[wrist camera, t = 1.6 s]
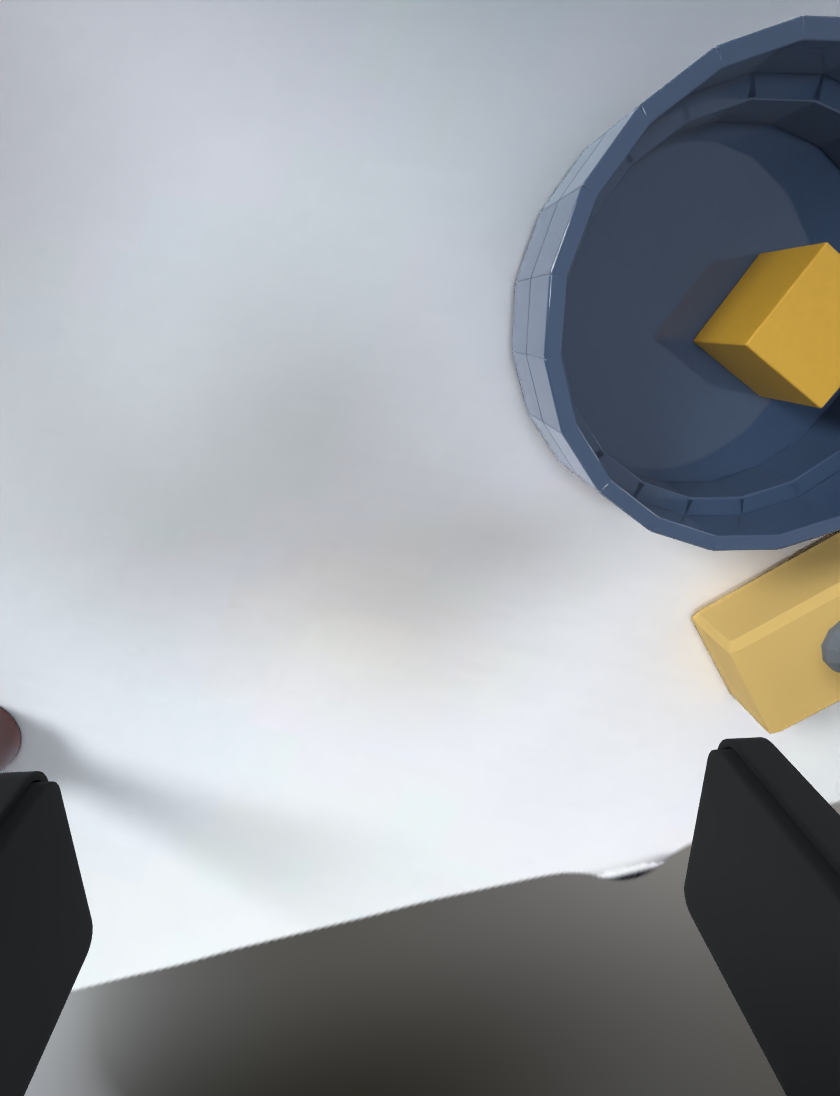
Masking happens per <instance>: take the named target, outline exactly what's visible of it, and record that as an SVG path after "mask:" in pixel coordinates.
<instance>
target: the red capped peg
mask: <svg viewBox="0 0 840 1096" xmlns="http://www.w3.org/2000/svg"><path fill="white" fill-rule="evenodd" d="M20 743H21V735H20V731H19V728H18V726H17V724H16V722H15V720H14V719H13V718H12V717H11V716H10V715H9V714H8V713H7V712H6V711H5V710H3V709H2V708H0V773H1V772H2V771H3V770H4V769H5V767H6V766H7V765H8V764H9V762H10V761H11V760H12V759H13V758H14V756H15V755H16V754H17V752H18V750H19V748H20Z"/></svg>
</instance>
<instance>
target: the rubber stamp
mask: <svg viewBox="0 0 840 1096" xmlns="http://www.w3.org/2000/svg"><path fill="white" fill-rule="evenodd" d="M691 619H692V621H693V623H694V625H695V627H696V629H697V630H698V632H699V634H700V636H701V638H702V640H703V642H704V644H705V646H706V648H707V650H708V652H709V653H710V655H711V657H712V659H713V661H714V663H715V665H716V667H717V669H718V671H719V673H720V675H721V676H722V678H723V680H724V682H725V684H726V686H727V688H728V690H729V692H730V693H731V694H732V695H733V696H734V698H735V699H736V700H737V701H738V702H739V703H740V704H741V705H742V706H743V707H744V708H745V709H746V710H747V711H748V712H749V713H750V714H751V715H752V716H753V718H754V719H755V720H756V721H757V722H758V723H759V724H760V725H761V726H762V727H763V728H764V729H765V730H766V731H768V732H769V733H770V734H772V733H776V732H780V731H782V730H784V729H786V728H788V727H790V726H792V725H794V724H796V723H798V722H800V721H802V720H803V719H805V718H807V717H809V716H811V715H813V714H815V713H817V712H819V711H821V710H823V709H824V708H826V707H828V706H830V705H832V704H834V703H836V702H838V701H840V532H839V533H837V534H835V535H833V536H832V537H830V538H828V539H826V540H824V541H823V542H821V543H819V544H817V545H815V546H814V547H812V548H810V549H808V550H807V551H805V552H803V553H801V554H799V555H798V556H796V557H794V558H792V559H790V560H789V561H787V562H785V563H783V564H782V565H780V566H778V567H776V568H774V569H773V570H771V571H769V572H767V573H765V574H764V575H762V576H760V577H758V578H757V579H755V580H753V581H751V582H749V583H748V584H746V585H744V586H742V587H740V588H739V589H737V590H735V591H733V592H731V593H730V594H728V595H726V596H724V597H723V598H721V599H719V600H717V601H715V602H714V603H712V604H710V605H708V606H706V607H705V608H703V609H701V610H699V611H698V612H697V613H696V614H695V615H694V616H693V617H692V618H691Z"/></svg>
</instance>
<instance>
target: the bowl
mask: <svg viewBox="0 0 840 1096" xmlns="http://www.w3.org/2000/svg"><path fill="white" fill-rule="evenodd" d="M825 242H826V243H829V244H830V245H831V246H832V247H833V248H834V249H835V250H836V251H837V252H838V253H839V254H840V17H829V16H804V17H803V16H800V17H797V18H794V19H792V20H789V21H786V22H783V23H780V24H777V25H774V26H772V27H769V28H766V29H763V30H760V31H757V32H754V33H752V34H749V35H746V36H743V37H740V38H737V39H735V40H732V41H729V42H726V43H723V44H720V45H718V46H716V47H715V48H713V49H711V50H710V51H709V52H707V53H706V54H705V55H703V56H702V57H701V58H700V59H698V60H697V61H696V62H694V63H693V64H692V65H691V66H689V67H688V68H687V69H685V70H684V71H683V72H682V73H680V74H679V75H678V76H676V77H675V78H674V79H673V80H671V81H670V82H669V83H667V84H666V85H665V86H664V87H662V88H661V89H660V90H658V91H657V92H656V93H655V94H653V95H652V96H651V97H649V98H648V99H647V100H646V101H644V102H643V103H642V104H640V105H639V106H638V107H637V108H635V109H634V110H633V111H632V112H630V113H629V114H628V115H627V116H625V117H624V118H623V119H622V120H621V121H619V122H618V123H617V124H616V125H614V126H613V127H612V128H611V129H609V130H608V131H607V132H606V133H604V134H603V135H602V136H601V137H599V138H598V139H597V140H596V141H594V142H593V143H592V144H591V145H589V146H588V147H587V148H586V150H584V151H583V152H582V154H581V155H580V157H579V158H578V159H577V161H576V162H575V164H574V165H573V167H572V168H571V169H570V171H569V172H568V174H567V175H566V176H565V178H564V179H563V181H562V182H561V183H560V185H559V186H558V188H557V189H556V190H555V192H554V193H553V195H552V196H551V198H550V199H549V200H548V202H547V203H546V205H545V206H544V207H543V209H542V211H541V213H540V214H539V217H538V220H537V223H536V226H535V228H534V231H533V234H532V237H531V240H530V243H529V246H528V248H527V251H526V254H525V257H524V260H523V263H522V266H521V268H520V271H519V274H518V277H517V282H516V284H515V302H514V321H513V340H512V351H513V352H512V353H513V357H514V361H515V365H516V369H517V373H518V377H519V381H520V385H521V389H522V392H523V396H524V400H525V404H526V408H527V411H528V414H529V416H530V417H531V419H532V420H533V422H534V423H535V425H536V426H537V428H538V429H539V431H540V433H541V434H542V436H543V437H544V439H545V440H546V442H547V443H548V445H549V446H550V448H551V450H552V451H553V453H554V454H555V456H556V457H557V459H558V460H559V461H560V462H561V463H562V464H563V465H564V466H566V467H567V468H568V469H570V470H571V471H572V472H573V473H575V474H576V475H577V476H579V477H580V478H581V479H582V480H584V481H585V482H586V483H588V484H589V485H590V486H592V487H593V488H594V489H595V490H597V491H598V492H599V493H601V494H602V495H603V496H604V497H606V498H607V499H608V500H610V501H611V502H612V503H614V504H615V505H616V506H618V507H619V508H620V509H621V510H623V511H624V512H625V513H627V514H628V515H629V516H631V517H632V518H633V519H634V520H636V521H637V522H638V523H640V524H641V525H642V526H644V527H645V528H646V529H648V530H650V531H651V532H654V533H657V534H660V535H663V536H666V537H670V538H673V539H676V540H679V541H682V542H686V543H689V544H692V545H695V546H698V547H701V548H705V549H708V550H713V551H722V550H777V549H781V548H785V547H788V546H791V545H794V544H797V543H800V542H804V541H807V540H810V539H813V538H816V537H820V536H823V535H826V534H829V533H832V532H835V531H839V530H840V388H839V389H838V390H837V391H836V392H835V393H834V395H833V396H832V397H831V398H830V399H829V400H828V402H827V403H826V404H825V405H824V406H823V407H822V408H816V407H811V406H806V405H802V404H797V403H792V402H787V401H782V400H777V399H772V398H767V397H762V396H759V395H758V394H756V393H755V392H754V391H753V390H752V389H750V388H749V387H748V386H747V385H746V384H744V383H743V382H742V381H741V380H739V379H738V378H737V377H736V376H735V375H733V374H732V373H731V372H730V371H728V370H727V369H726V368H725V367H724V366H722V365H721V364H720V363H719V362H718V361H716V360H715V359H714V358H713V357H711V356H710V355H709V354H708V353H707V352H705V351H704V350H703V349H702V348H700V347H699V346H698V345H697V344H696V343H694V339H695V338H696V336H697V335H698V334H699V332H700V331H701V330H702V328H703V327H704V326H705V324H706V323H707V322H708V321H709V319H710V318H711V317H712V315H713V314H714V313H715V311H716V310H717V309H718V308H719V306H720V305H721V304H722V302H723V301H724V300H725V298H726V297H727V296H728V295H729V293H730V292H731V291H732V289H733V288H734V287H735V285H736V284H737V283H738V282H739V280H740V279H741V278H742V276H743V275H744V274H745V272H746V271H747V270H748V269H749V267H750V266H751V265H752V263H753V262H754V261H755V259H756V258H757V257H758V256H759V254H761V253H766V252H772V251H778V250H784V249H790V248H796V247H802V246H808V245H813V244H819V243H825Z"/></svg>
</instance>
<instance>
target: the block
mask: <svg viewBox="0 0 840 1096" xmlns="http://www.w3.org/2000/svg"><path fill="white" fill-rule="evenodd" d="M694 343H696V344H697V345H698V346H699V347H700V348H702V349H703V350H704V351H705V352H707V353H708V354H709V355H710V356H711V357H713V358H714V359H715V360H716V361H718V362H719V363H720V364H721V365H722V366H724V367H725V368H726V369H727V370H728V371H730V372H731V373H732V374H733V375H735V376H736V377H737V378H738V379H739V380H741V381H742V382H743V383H744V384H746V385H747V386H748V387H749V388H750V389H752V390H753V391H754V392H755V393H756V394H758V395H759V396H762V397H767V398H772V399H777V400H782V401H787V402H792V403H797V404H802V405H806V406H811V407H816V408H822V407H823V406H824V405H825V404H826V403H827V402H828V400H829V399H830V398H831V397H832V396H833V395H834V393H835V392H836V391H837V390H838V389H839V388H840V254H839V253H838V252H837V251H836V250H835V249H834V248H833V247H832V246H831V245H830V244H829V243H826V242H825V243H819V244H813V245H808V246H802V247H796V248H790V249H784V250H778V251H772V252H766V253H761V254H759V256H758V257H757V258H756V259H755V261H754V262H753V263H752V265H751V266H750V267H749V269H748V270H747V271H746V272H745V274H744V275H743V276H742V278H741V279H740V280H739V282H738V283H737V284H736V285H735V287H734V288H733V289H732V291H731V292H730V293H729V295H728V296H727V297H726V298H725V300H724V301H723V302H722V304H721V305H720V306H719V308H718V309H717V310H716V311H715V313H714V314H713V315H712V317H711V318H710V319H709V321H708V322H707V323H706V324H705V326H704V327H703V328H702V330H701V331H700V332H699V334H698V335H697V336H696V338H695V339H694Z"/></svg>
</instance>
